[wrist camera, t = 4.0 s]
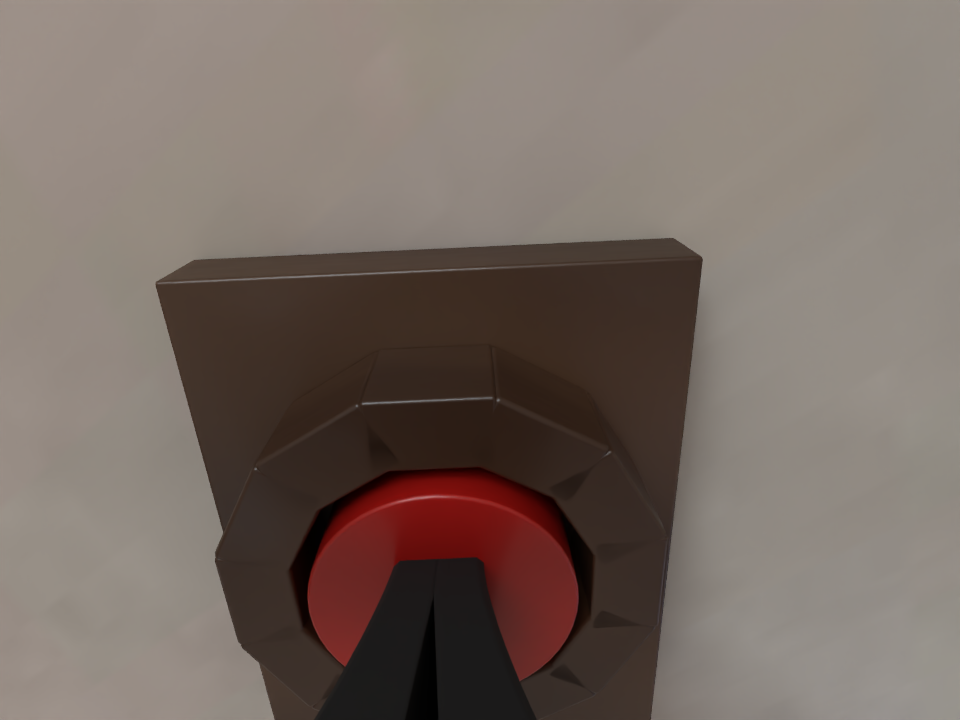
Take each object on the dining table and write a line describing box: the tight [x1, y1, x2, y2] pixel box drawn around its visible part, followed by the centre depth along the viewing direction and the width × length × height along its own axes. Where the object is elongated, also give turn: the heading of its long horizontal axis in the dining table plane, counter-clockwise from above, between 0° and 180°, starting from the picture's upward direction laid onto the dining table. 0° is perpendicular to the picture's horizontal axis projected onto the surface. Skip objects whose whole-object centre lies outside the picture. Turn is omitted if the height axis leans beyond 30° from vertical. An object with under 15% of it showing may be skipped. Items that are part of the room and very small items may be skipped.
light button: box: [307, 467, 579, 681], centre depth 10 cm, size 4×4×2 cm
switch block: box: [156, 238, 703, 720], centre depth 12 cm, size 12×9×4 cm
